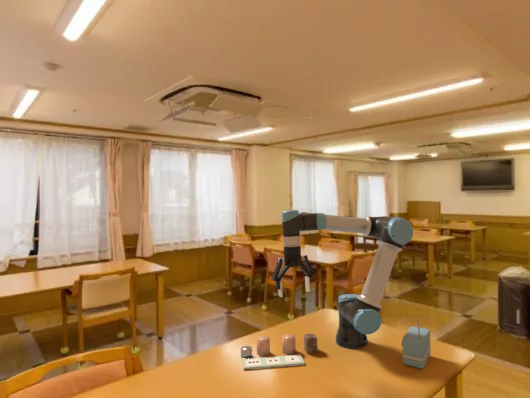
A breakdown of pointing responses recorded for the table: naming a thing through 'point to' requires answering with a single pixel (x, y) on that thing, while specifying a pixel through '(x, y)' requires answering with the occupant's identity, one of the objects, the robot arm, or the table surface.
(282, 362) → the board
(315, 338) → the walnut block
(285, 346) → the peach capsule
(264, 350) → the pink capsule pill
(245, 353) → the tin
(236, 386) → the table surface
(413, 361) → the radio
